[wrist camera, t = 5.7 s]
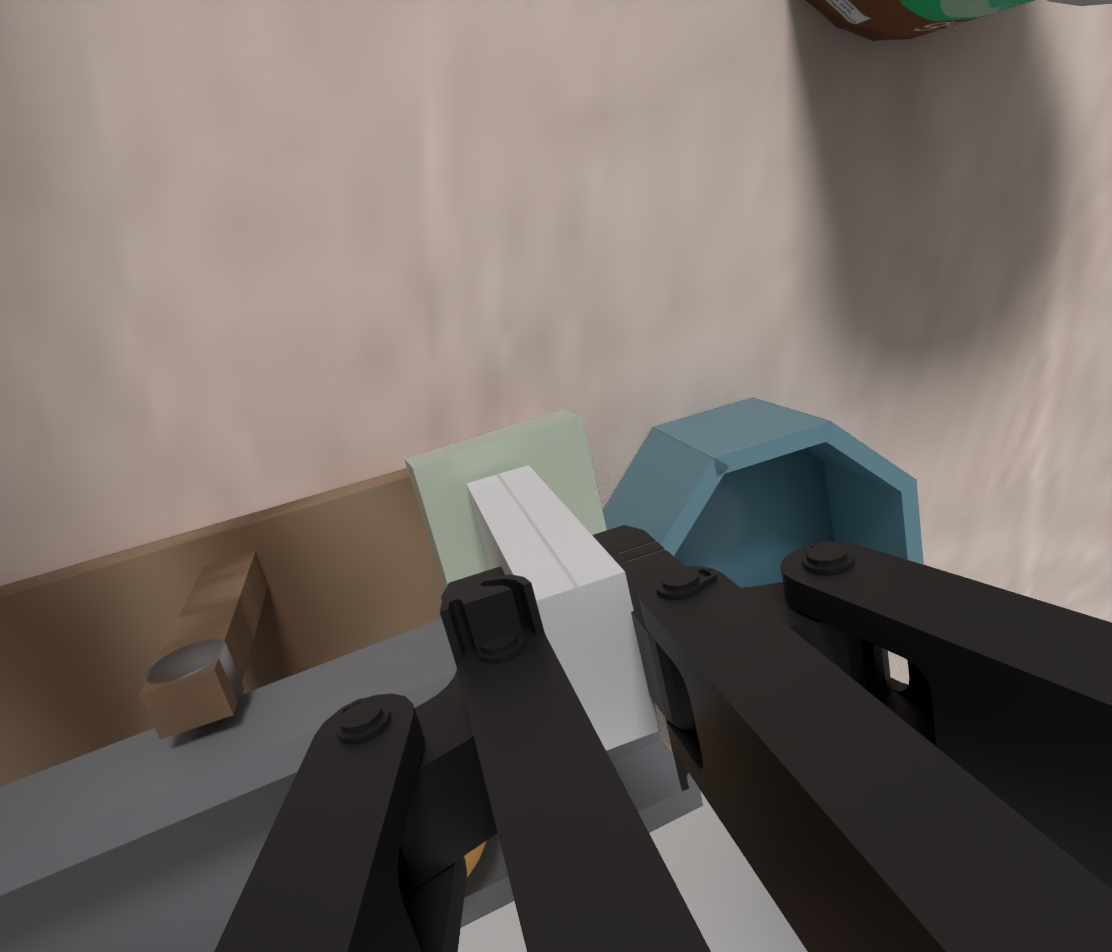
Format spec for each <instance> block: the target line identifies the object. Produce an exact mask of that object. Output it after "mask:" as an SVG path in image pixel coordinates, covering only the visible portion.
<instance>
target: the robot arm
mask: <svg viewBox="0 0 1112 952" xmlns="http://www.w3.org/2000/svg"><path fill="white" fill-rule="evenodd" d="M467 488H468V491H469V495H470V498H471V502H472V505H473V509H474V512H475V516H476V520H477V523H478V527H479V530H480V534H481V537H482V541H483V544H484V548H485V551H486V555H487V559H488V562H489V566H490V570H487V571H484V572H481V573H478V574H474V575H471V576H468V577H465V578H462V579H459V580H456V581H452V582H449V583H448V585H447V587H446V589H445V591H444V592H443V594H442V596H441V600H442V603H441V608H440V615H441V618H442V621H443V625H444V628H445V631H446V634H447V638H448V641H449V644H450V647H451V650H452V654H453V657H454V660H455V663H456V667H457V671H456V673H455V675H454V678H453V679H452V680H451V681H450V683H449V684H448V685H447V686H446V687H445V688H444V689H443V690H442V691H441V692H439V693H438V694H437V695H435V696H434V697H432V698H431V699H429V700H428V701H426V702H425V703H423V704H421V705H419V706H417V707H416V708H414V705H413V703H412V702H411V701H410V700H409V699H408V698H407V697H406V696H402V695H397V694H393V693H390V694H379V695H373V696H370V697H367V698H361V699H358V700H355V701H353V702H351V704H347V705H345V706H344V707H342V708H340V709H339V710H338V711H337V712H336V713H334V714H333V715H332V716H331V717H330V718H328V719H327V720H326V721H325V722H324V723H323V724H322V725H321V727H320V728H319V730H318V731H317V732H316V734H315V735H314V737H313V739H312V742H311V744H310V746H309V748H308V750H307V752H306V755H305V757H304V759H303V761H302V763H301V765H300V768H299V770H298V772H297V774H296V776H295V778H294V780H293V783H292V785H291V787H290V789H289V791H288V793H287V796H286V798H285V800H284V802H283V804H282V806H281V809H280V811H279V813H278V815H277V817H276V819H275V821H274V824H273V826H272V828H271V830H270V832H269V834H268V837H267V839H266V841H265V843H264V845H263V847H262V849H261V852H260V854H259V856H258V858H257V860H256V862H255V865H254V867H253V869H252V871H251V873H250V875H249V878H248V880H247V882H246V884H245V886H244V888H243V890H242V893H241V895H240V897H239V899H238V901H237V903H236V906H235V908H234V910H233V912H232V914H231V916H230V919H229V921H228V923H227V925H226V927H225V929H224V931H223V934H222V936H221V938H220V940H219V942H218V944H217V947H216V949H215V951H214V952H457V951H458V944H459V936H460V928H461V920H462V912H463V904H464V896H465V888H466V880H467V868H466V860H465V857H464V856H465V855H466V854H468V853H469V852H471V851H472V850H474V849H475V848H477V847H478V846H480V845H481V844H483V843H484V842H485V841H487V840H488V839H490V838H491V837H493V836H494V835H496V834H497V833H498V836H499V840H500V844H501V848H502V852H503V856H504V860H505V864H506V868H507V872H508V876H509V880H510V884H511V888H512V892H513V896H514V900H515V904H516V908H517V912H518V916H519V920H520V925H521V928H522V932H523V937H524V941H525V944H526V949H527V952H711V951H710V949H709V947H708V946H707V944H706V942H705V940H704V938H703V936H702V934H701V932H700V930H699V928H698V926H697V924H696V922H695V920H694V919H693V917H692V915H691V913H690V911H689V909H688V907H687V905H686V903H685V901H684V899H683V897H682V896H681V894H680V892H679V890H678V888H677V886H676V884H675V882H674V880H673V878H672V876H671V874H670V872H669V871H668V869H667V867H666V865H665V863H664V861H663V859H662V857H661V855H660V854H659V851H658V849H657V848H656V846H655V844H654V842H653V840H652V838H651V836H650V834H649V832H648V830H647V828H646V826H645V825H644V823H643V821H642V819H641V817H640V815H639V813H638V811H637V809H636V807H635V805H634V803H633V802H632V800H631V798H630V796H629V794H628V792H627V790H626V788H625V786H624V784H623V782H622V780H621V779H620V777H619V775H618V773H617V771H616V769H615V767H614V765H613V763H612V761H611V759H610V757H609V756H608V754H607V752H606V750H609V749H612V748H615V747H617V746H620V745H623V744H625V743H628V742H631V741H633V740H636V739H639V738H641V737H644V736H647V735H650V734H652V733H655V732H658V731H660V727H659V723H658V718H657V714H656V709H655V705H654V702H655V703H656V705H657V706H658V707H659V709H660V710H661V712H662V713H663V715H664V716H665V719H666V724H667V728H668V733H669V737H670V742H671V746H672V751H673V756H674V760H675V765H676V769H677V774H678V778H679V782H680V785H681V789H682V791H685V790H687V789H689V785H688V781H687V775H688V773H689V774H690V775H691V777H692V778H693V780H694V781H695V783H696V784H697V786H698V787H699V789H700V790H701V792H702V793H703V795H704V796H705V798H706V799H707V801H708V802H709V804H710V805H711V807H712V808H713V810H714V811H715V813H716V814H717V816H718V817H719V819H720V820H721V822H722V823H723V825H724V826H725V828H726V829H727V831H728V832H729V834H730V835H731V837H732V838H733V840H734V841H735V843H736V844H737V846H738V847H739V849H740V850H741V852H742V853H743V855H744V856H745V857H746V859H747V861H748V862H749V864H750V865H751V867H752V868H753V870H754V871H755V873H756V875H757V876H758V878H759V879H760V880H761V882H762V884H763V885H764V887H765V888H766V889H767V891H768V892H769V894H770V895H771V897H772V898H773V900H774V901H775V903H776V905H777V906H778V907H779V909H780V911H781V912H782V914H783V915H784V917H785V918H786V920H787V921H788V923H789V924H790V925H791V927H792V929H793V930H794V931H795V933H796V935H797V936H798V938H799V939H800V941H801V942H802V944H803V945H804V947H805V948H806V950H807V951H808V952H1112V623H1111V622H1108V621H1105V620H1101V619H1098V618H1095V617H1092V616H1088V615H1085V614H1082V613H1079V612H1075V611H1072V610H1069V609H1066V608H1062V607H1059V606H1056V605H1053V604H1049V603H1046V602H1043V601H1040V600H1036V599H1033V598H1030V597H1027V596H1023V595H1020V594H1017V593H1014V592H1010V591H1007V590H1004V589H1001V588H997V587H994V586H991V585H988V584H984V583H981V582H978V581H975V580H971V579H968V578H965V577H962V576H958V575H955V574H952V573H949V572H945V571H942V570H939V569H936V568H932V567H929V566H926V565H923V564H919V563H916V562H913V561H910V560H907V559H903V558H900V557H897V556H894V555H890V554H887V553H884V552H881V551H877V550H874V549H871V548H868V547H864V546H861V545H856V544H851V543H845V542H831V541H824V542H819V544H817V543H812V544H808V545H806V546H805V547H802V548H800V549H797V550H794V551H793V552H791V553H790V554H789V555H787V556H786V557H784V559H783V561H782V563H781V565H780V568H781V574H782V581H783V582H779V583H773V584H766V585H760V586H753V587H743V588H740V587H739V586H738V585H737V584H735V583H734V582H733V581H732V580H730V579H729V578H728V577H727V576H726V575H724V574H723V573H721V572H719V571H717V570H715V569H713V568H708V567H702V566H687V567H685V566H684V565H683V564H682V563H681V562H680V561H679V560H677V559H676V558H675V557H674V556H673V555H672V554H671V553H669V552H668V551H667V550H664V547H663V546H662V545H660V544H659V543H658V542H656V541H655V539H654V538H653V537H651V536H650V535H649V534H648V533H647V532H646V531H645V530H642V529H639V528H635V527H631V526H627V525H622V526H619V527H616V528H612V529H609V530H606V531H603V532H600V533H597V534H594V535H591V534H590V532H589V531H588V530H587V529H586V528H585V527H584V526H583V525H582V524H581V523H580V521H579V520H578V519H577V518H576V517H575V516H574V515H573V514H572V513H571V511H570V510H569V509H568V508H567V507H566V506H565V505H564V504H563V503H562V501H561V500H560V499H559V498H558V497H557V496H556V495H555V494H554V493H553V492H552V490H551V489H550V488H549V487H548V486H547V485H546V484H545V483H544V482H543V480H542V479H541V478H540V477H539V476H538V475H537V474H536V473H535V472H534V471H533V469H532V468H531V467H530V466H529V465H527V466H524V467H521V468H517V469H514V470H511V471H507V472H504V473H500V474H497V475H494V476H490V477H487V478H484V479H480V480H477V481H473V482H470V483H467ZM888 651H890V652H892V653H895V654H897V655H899V656H901V657H904V658H905V659H907V660H908V669H909V685H908V684H905V683H901V682H899V681H897V680H895V679H893V678H891V677H890V668H889V659H888Z"/></svg>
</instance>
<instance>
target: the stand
mask: <svg viewBox="0 0 1112 952" xmlns="http://www.w3.org/2000/svg"><path fill="white" fill-rule="evenodd" d="M444 591H445V590H444V587H443V583H442V580H441V577H440V574H439V570H438V567H437V564H436V560H435V557H434V554H433V550H432V547H431V544H430V541H429V537H428V534H427V531H426V527H425V524H424V521H423V518H422V514H421V511H420V508H419V504H418V501H417V498H416V495H415V491H414V488H413V485H412V481H411V478H410V475H409V471H408V468H407V469H403V470H400V471H397V472H393V473H390V474H386V475H383V476H379V477H376V478H372V479H369V480H366V481H362V482H359V483H355V484H352V485H348V486H345V487H341V488H338V489H335V490H331V491H328V492H324V493H321V494H317V495H314V496H311V497H307V498H304V499H300V500H297V501H293V502H290V503H286V504H283V505H280V506H276V507H273V508H269V509H266V510H262V511H259V512H255V513H252V514H249V515H245V516H242V517H238V518H235V519H231V520H228V521H225V522H221V523H218V524H214V525H211V526H207V527H204V528H200V529H197V530H194V531H190V532H187V533H183V534H180V535H176V536H173V537H169V538H166V539H163V540H159V541H156V542H152V543H149V544H145V545H142V546H139V547H135V548H132V549H128V550H125V551H121V552H118V553H114V554H111V555H108V556H104V557H101V558H97V559H94V560H90V561H87V562H83V563H80V564H77V565H73V566H70V567H66V568H63V569H59V570H56V571H53V572H49V573H46V574H42V575H39V576H35V577H32V578H28V579H25V580H22V581H18V582H15V583H11V584H8V585H4V586H1V587H0V787H1V786H3V785H6V784H9V783H11V782H14V781H17V780H19V779H22V778H24V777H27V776H30V775H32V774H35V773H38V772H40V771H43V770H45V769H48V768H51V767H53V766H56V765H59V764H61V763H64V762H66V761H69V760H72V759H74V758H77V757H80V756H82V755H85V754H87V753H90V752H93V751H95V750H98V749H101V748H103V747H106V746H108V745H111V744H114V743H116V742H119V741H122V740H124V739H127V738H129V737H132V736H135V735H137V734H140V733H142V732H145V731H148V730H150V729H153V728H155V730H156V732H157V734H158V736H159V738H160V740H161V739H164V738H167V737H170V736H173V735H176V734H179V733H182V732H185V731H188V730H191V729H194V728H197V727H200V726H203V725H206V724H208V723H211V722H214V721H217V720H220V719H223V718H226V717H229V716H232V715H234V711H235V707H236V704H237V701H238V700H239V699H240V697H241V696H242V694H245V693H247V692H250V691H253V690H255V689H258V688H261V687H263V686H266V685H268V684H271V683H274V682H276V681H279V680H282V679H284V678H287V677H289V676H292V675H295V674H297V673H300V672H303V671H305V670H308V669H310V668H313V667H316V666H318V665H321V664H324V663H326V662H329V661H331V660H334V659H337V658H339V657H342V656H345V655H347V654H350V653H352V652H355V651H358V650H360V649H363V648H366V647H368V646H371V645H373V644H376V643H379V642H381V641H384V640H387V639H389V638H392V637H394V636H397V635H400V634H402V633H405V632H408V631H410V630H413V629H415V628H418V627H421V626H423V625H426V624H428V623H431V622H434V621H436V620H439V619H442V618H441V615H440V608H441V603H442V600H441V596H442V594H443V592H444Z"/></svg>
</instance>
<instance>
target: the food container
mask: <svg viewBox="0 0 1112 952" xmlns="http://www.w3.org/2000/svg"><path fill="white" fill-rule="evenodd" d="M807 1H808V2H809V3H810V4H811V5H812V6H813V7H814V8H816V9H817V10H818V11H819V12H820V13H821V14H822V15H824V16H825V17H826V18H827V19H828V20H829V21H830V22H832V23H833V24H834V25H835V26H836V27H838V28H841V29H844V30H846V31H849V32H852V33H854V34H857V35H860V36H862V37H865V38H868V39H870V40H895V39H911V38H914V37H917V36H920V35H924V34H927V33H930V32H933V31H937V30H940V29H943V28H946V27H950V26H953V25H956V24H959V23H963V22H966V21H969V20H972V19H976V18H979V17H982V16H985V15H988V14H992V13H995V12H998V11H1001V10H1005V9H1008V8H1011V7H1014V6H1018V5H1021V4H1024V3H1027V2H1031V1H1034V0H807ZM1047 1H1050V2H1056V3H1063V4H1070V5H1077V6H1087V5H1100V4H1112V0H1047Z"/></svg>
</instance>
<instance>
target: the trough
mask: <svg viewBox="0 0 1112 952" xmlns="http://www.w3.org/2000/svg"><path fill="white" fill-rule="evenodd" d="M405 462H406V465H407V468H408V471H409V475H410V478H411V481H412V485H413V488H414V491H415V495H416V498H417V501H418V504H419V508H420V511H421V514H422V518H423V521H424V524H425V527H426V531H427V534H428V537H429V541H430V544H431V547H432V550H433V554H434V557H435V560H436V564H437V567H438V570H439V574H440V577H441V580H442V583H443V587H444V590H445V589H446V587H447V585H448V583H449V582H452V581H456V580H459V579H462V578H465V577H468V576H471V575H474V574H478V573H481V572H484V571H487V570H490V566H489V562H488V559H487V555H486V551H485V548H484V544H483V541H482V537H481V534H480V530H479V527H478V523H477V520H476V516H475V512H474V509H473V505H472V502H471V498H470V495H469V491H468V488H467V483H470V482H473V481H477V480H480V479H484V478H487V477H490V476H494V475H497V474H500V473H504V472H507V471H511V470H514V469H517V468H521V467H524V466H527V465H529V466H530V467H531V468H532V469H533V471H534V472H535V473H536V474H537V475H538V476H539V477H540V478H541V479H542V480H543V482H544V483H545V484H546V485H547V486H548V487H549V488H550V489H551V490H552V492H553V493H554V494H555V495H556V496H557V497H558V498H559V499H560V500H561V501H562V503H563V504H564V505H565V506H566V507H567V508H568V509H569V510H570V511H571V513H572V514H573V515H574V516H575V517H576V518H577V519H578V520H579V521H580V523H581V524H582V525H583V526H584V527H585V528H586V529H587V530H588V531H589V532H590V534H591V535H594V534H597V533H600V532H603V531H606V530H607V529H606V524H605V520H604V515H603V511H602V506H601V502H600V497H599V493H598V488H597V484H596V479H595V475H594V471H593V466H592V462H591V457H590V453H589V448H588V444H587V439H586V435H585V430H584V426H583V422H582V417H581V414H579V413H577V412H574V411H571V410H568V409H566V408H564V409H561V410H558V411H555V412H552V413H548V414H545V415H542V416H539V417H536V418H532V419H529V420H526V421H523V422H520V423H517V424H513V425H510V426H507V427H504V428H501V429H498V430H494V431H491V432H488V433H485V434H482V435H479V436H475V437H472V438H469V439H466V440H463V441H459V442H456V443H453V444H450V445H447V446H444V447H440V448H437V449H434V450H431V451H428V452H425V453H421V454H418V455H415V456H412V457H409V458H406V459H405ZM456 671H457V667H456V663H455V660H454V657H453V654H452V650H451V647H450V644H449V641H448V638H447V634H446V631H445V628H444V625H443V621H442V619H439V620H436V621H434V622H431V623H428V624H426V625H423V626H421V627H418V628H415V629H413V630H410V631H408V632H405V633H402V634H400V635H397V636H394V637H392V638H389V639H387V640H384V641H381V642H379V643H376V644H373V645H371V646H368V647H366V648H363V649H360V650H358V651H355V652H352V653H350V654H347V655H345V656H342V657H339V658H337V659H334V660H331V661H329V662H326V663H324V664H321V665H318V666H316V667H313V668H310V669H308V670H305V671H303V672H300V673H297V674H295V675H292V676H289V677H287V678H284V679H282V680H279V681H276V682H274V683H271V684H268V685H266V686H263V687H261V688H258V689H255V690H253V691H250V692H247V693H245V694H242V696H241V697H240V699H239V700H238V701H237V704H236V707H235V711H234V715H232V716H229V717H226V718H223V719H220V720H217V721H214V722H211V723H208V724H206V725H203V726H200V727H197V728H194V729H191V730H188V731H185V732H182V733H179V734H176V735H173V736H170V737H167V738H164V739H161V740H160V738H159V736H158V734H157V732H156V730H155V728H153V729H150V730H148V731H145V732H142V733H140V734H137V735H135V736H132V737H129V738H127V739H124V740H122V741H119V742H116V743H114V744H111V745H108V746H106V747H103V748H101V749H98V750H95V751H93V752H90V753H87V754H85V755H82V756H80V757H77V758H74V759H72V760H69V761H66V762H64V763H61V764H59V765H56V766H53V767H51V768H48V769H45V770H43V771H40V772H38V773H35V774H32V775H30V776H27V777H24V778H22V779H19V780H17V781H14V782H11V783H9V784H6V785H3V786H1V787H0V952H214V951H215V949H216V947H217V944H218V942H219V940H220V938H221V936H222V934H223V931H224V929H225V927H226V925H227V923H228V921H229V919H230V916H231V914H232V912H233V910H234V908H235V906H236V903H237V901H238V899H239V897H240V895H241V893H242V890H243V888H244V886H245V884H246V882H247V880H248V878H249V875H250V873H251V871H252V869H253V867H254V865H255V862H256V860H257V858H258V856H259V854H260V852H261V849H262V847H263V845H264V843H265V841H266V839H267V837H268V834H269V832H270V830H271V828H272V826H273V824H274V821H275V819H276V817H277V815H278V813H279V811H280V809H281V806H282V804H283V802H284V800H285V798H286V796H287V793H288V791H289V789H290V787H291V785H292V783H293V780H294V778H295V776H296V774H297V772H298V770H299V768H300V765H301V763H302V761H303V759H304V757H305V755H306V752H307V750H308V748H309V746H310V744H311V742H312V739H313V737H314V735H315V734H316V732H317V731H318V730H319V728H320V727H321V725H322V724H323V723H324V722H325V721H326V720H327V719H328V718H330V717H331V716H332V715H333V714H334V713H336V712H337V711H338V710H339V709H340V708H342V707H344V706H345V705H347V704H351V702H353V701H355V700H358V699H361V698H367V697H370V696H373V695H379V694H390V693H393V694H397V695H402V696H406V697H407V698H408V699H409V700H410V701H411V702H412V703H413V705H414V708H416V707H417V706H419V705H421V704H423V703H425V702H426V701H428V700H429V699H431V698H432V697H434V696H435V695H437V694H438V693H439V692H441V691H442V690H443V689H444V688H445V687H446V686H447V685H448V684H449V683H450V681H451V680H452V679H453V678H454V675H455V673H456ZM606 752H607V754H608V756H609V757H610V759H611V761H612V763H613V765H614V767H615V769H616V771H617V773H618V775H619V777H620V779H621V780H622V782H623V784H624V786H625V788H626V790H627V792H628V794H629V796H630V798H631V800H632V802H633V803H634V805H635V807H636V809H637V811H638V813H639V815H640V817H641V819H642V821H643V823H644V825H645V826H646V828H647V830H648V832H649V833H650V832H651V831H654V830H655V829H658V828H659V827H661V826H663V825H665V824H667V823H669V822H671V821H673V820H675V819H677V818H679V817H681V816H683V815H685V814H687V813H689V812H691V811H693V810H695V809H697V808H699V807H701V806H703V803H702V798H701V793H700V789H699V787H698V786H697V784H696V783H695V781H694V780H693V778H692V777H691V775H690V774H689V773H688V775H687V781H688V785H689V789H687V790H685V791H682V789H681V785H680V782H679V778H678V774H677V769H676V765H675V760H674V756H673V754H672V753H671V752H670V750H669V749H668V748H667V747H666V746H665V745H664V744H663V743H662V742H661V740H660V736H659V732H655V733H652V734H650V735H647V736H644V737H641V738H639V739H636V740H633V741H631V742H628V743H625V744H623V745H620V746H617V747H615V748H612V749H609V750H606ZM513 901H515V900H514V896H513V892H512V888H511V884H510V880H509V876H508V872H507V868H506V864H505V860H504V856H503V852H502V848H501V844H500V840H499V836H498V833H497V834H496V835H494V836H493V837H491V838H490V839H488V840H487V841H486V843H485V846H484V849H483V851H482V854H481V856H480V858H479V860H478V862H477V864H476V866H475V867H474V869H473V870H472V871H471V873H470V874H469V876H468V877H467V880H466V888H465V896H464V904H463V912H462V920H461V927H463V926H465V925H467V924H469V923H471V922H473V921H475V920H477V919H479V918H481V917H483V916H485V915H487V914H489V913H491V912H493V911H495V910H497V909H499V908H501V907H503V906H505V905H506V904H509V903H511V902H513Z"/></svg>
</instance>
